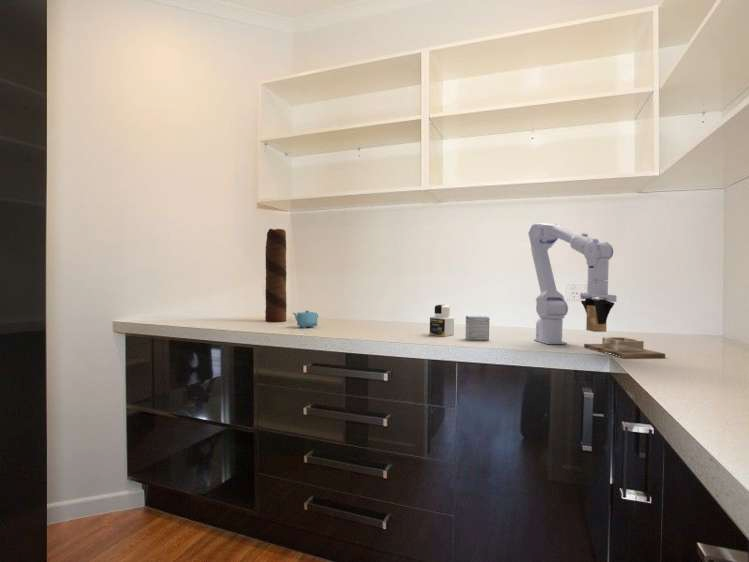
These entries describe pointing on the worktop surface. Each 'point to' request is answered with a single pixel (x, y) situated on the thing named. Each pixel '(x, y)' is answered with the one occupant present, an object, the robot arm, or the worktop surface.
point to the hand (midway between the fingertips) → (596, 323)
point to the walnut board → (624, 348)
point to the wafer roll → (276, 276)
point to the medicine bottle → (442, 322)
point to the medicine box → (477, 328)
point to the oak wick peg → (594, 320)
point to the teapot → (306, 319)
